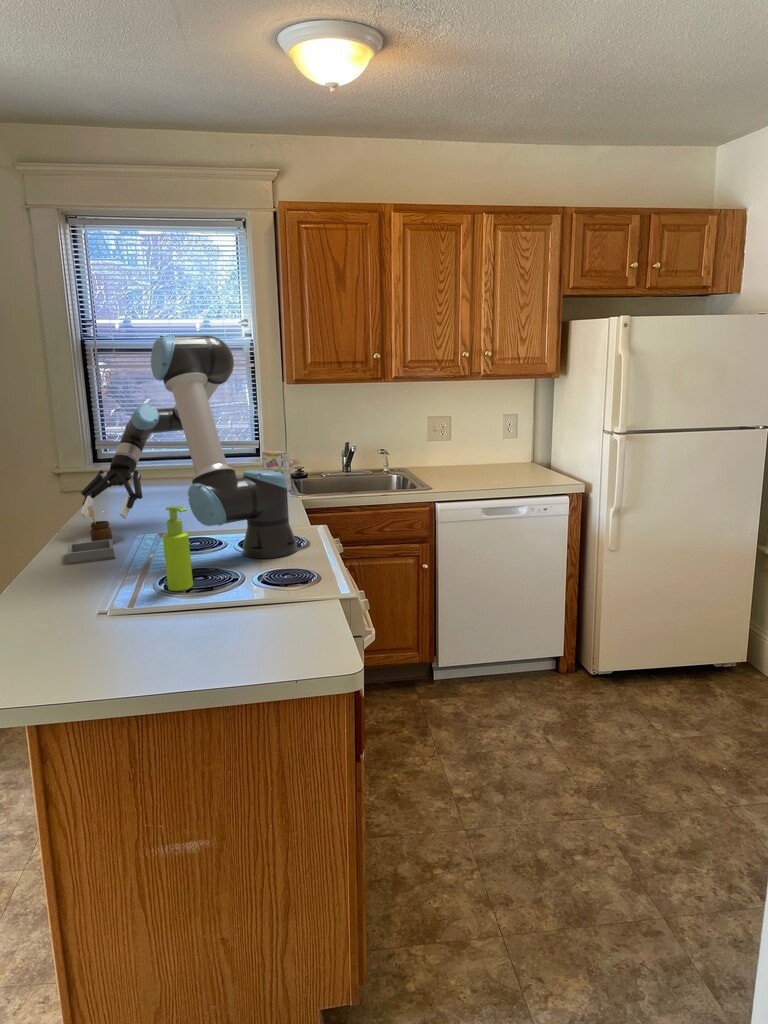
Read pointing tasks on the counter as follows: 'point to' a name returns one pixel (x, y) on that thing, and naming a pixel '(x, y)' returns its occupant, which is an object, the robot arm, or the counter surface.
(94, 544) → the tray
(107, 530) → the utensil holder
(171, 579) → the soap dispenser
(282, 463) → the candy bar box
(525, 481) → the counter surface
